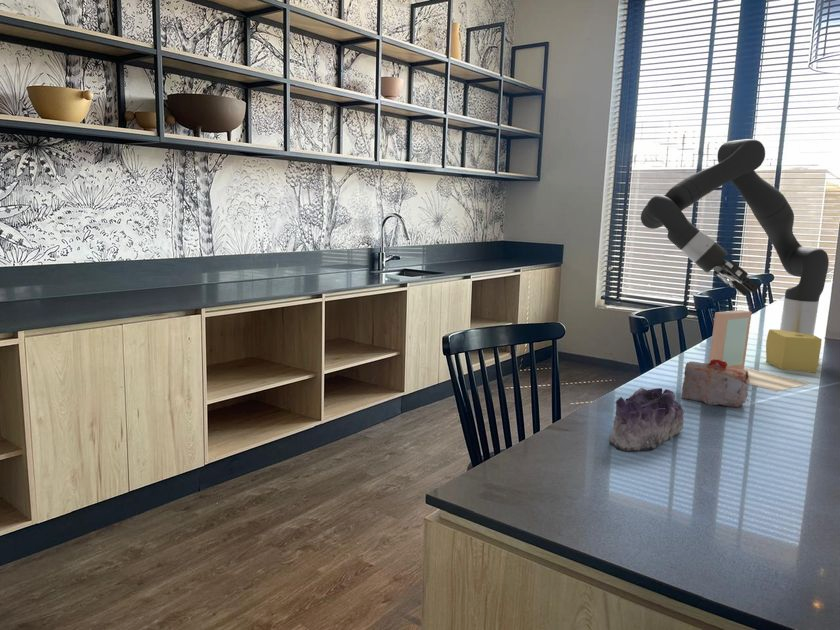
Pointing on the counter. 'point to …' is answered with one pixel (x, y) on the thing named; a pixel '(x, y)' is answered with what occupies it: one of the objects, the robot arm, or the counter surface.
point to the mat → (771, 381)
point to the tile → (730, 337)
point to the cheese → (793, 350)
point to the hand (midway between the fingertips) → (752, 292)
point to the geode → (646, 420)
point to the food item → (715, 383)
